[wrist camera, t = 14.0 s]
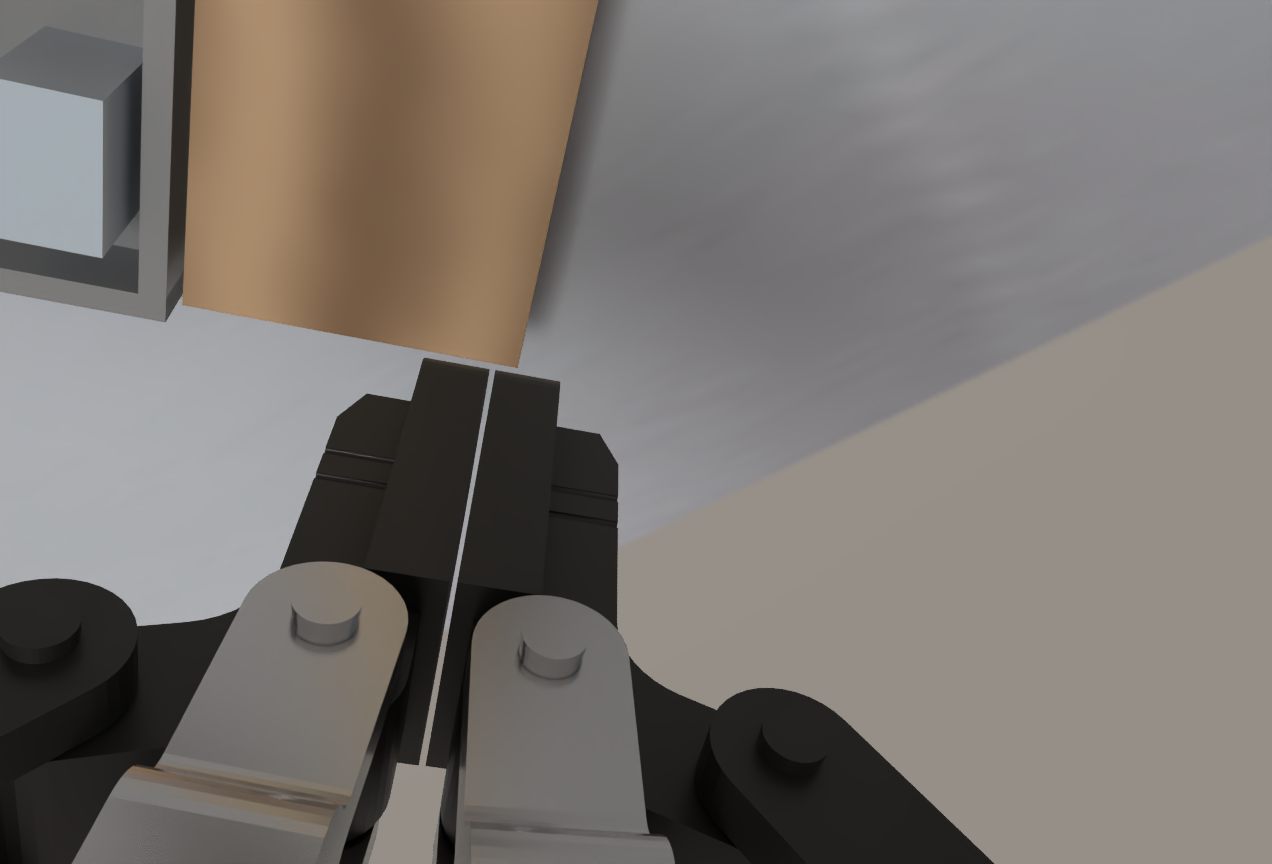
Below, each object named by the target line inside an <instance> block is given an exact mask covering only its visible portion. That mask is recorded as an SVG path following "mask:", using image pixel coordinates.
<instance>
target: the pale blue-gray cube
mask: <svg viewBox="0 0 1272 864" xmlns="http://www.w3.org/2000/svg"><path fill="white" fill-rule="evenodd" d="M142 65H143V48H141V47H137V46H132V45H128V44H123V43H119V42H114V41H110V40H106V39H101V38H97V37H92V36H88V35H83V34H79V33H74V32H70V31H65V30H61V29H56V28H52V27H47V26H44V27H43V28H41V29H40V30H39V31H37V32H36V33H34V34H33V35H32V36H30V37H29V38H28V39H26V40H25V41H23V42H22V43H21V44H19V45H18V46H16V47H15V48H14V49H12V50H11V51H10V52H8V53H7V54H5V55H4V56H3V57H1V58H0V238H1V239H6V240H11V241H16V242H21V243H26V244H31V245H37V246H42V247H47V248H52V249H57V250H62V251H67V252H72V253H78V254H83V255H88V256H93V257H98V258H103V257H104V256H105V254H106V253H107V252H108V250H109V249H110V248H111V246H112V245H113V244H114V243H115V241H116V240H117V239H118V237H119V236H120V235H121V233H122V232H123V231H124V230H125V228H126V227H127V226H128V224H129V223H130V222H131V221H132V219H133V218H134V217H135V215H136V214H137V213H138V211H139V210H140V171H141V118H142Z"/></svg>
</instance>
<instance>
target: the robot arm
mask: <svg viewBox="0 0 1272 864" xmlns="http://www.w3.org/2000/svg"><path fill="white" fill-rule="evenodd" d="M488 376H489V369H485V368H479V367H474V366H468V365H462V364H457V363H451V362H446V361H440V360H434V359H429V358H424V359H423V361H422V365H421V368H420V372H419V375H418V379H417V382H416V386H415V389H414V393H413V396H412V400H411V401H406V400H400V399H394V398H388V397H383V396H377V395H371V394H366V395H365V396H363V397H362V398H361V399H359V400H358V401H357V402H356V403H354V404H353V405H352V406H350V407H349V408H348V409H347V410H345V411H344V412H343V413H341V414H340V415H339V416H338V417H337V419H336V421H335V424H334V427H333V429H332V432H331V435H330V437H329V440H328V443H327V445H326V449H325V453H323V456H322V459H321V461H320V464H319V467H318V469H317V472H316V478H314V480H313V483H312V485H311V488H310V491H309V493H308V496H307V499H306V501H305V504H304V507H303V509H302V512H301V515H300V517H299V520H298V523H297V525H296V528H295V531H294V533H293V536H292V539H291V541H290V544H289V547H288V549H287V552H286V555H285V557H284V560H283V563H282V565H281V568H280V570H278V571H276V572H274V573H272V574H270V575H268V576H266V577H265V578H264V579H262V580H261V581H259V582H258V583H257V584H256V585H255V586H254V587H253V588H252V589H251V590H250V591H249V593H248V594H247V596H246V597H245V599H244V601H243V603H242V605H241V607H240V608H238V609H236V610H234V611H232V612H229V613H226V614H223V615H221V616H217V617H213V618H209V619H205V620H199V621H191V622H182V623H171V624H159V625H147V626H137V624H136V619H135V617H134V615H133V613H132V611H131V609H130V608H129V607H128V606H127V604H126V603H125V602H124V601H123V600H122V599H121V598H119V597H118V596H116V595H115V594H114V593H112V592H110V591H108V590H106V589H104V588H102V587H100V586H97V585H94V584H91V583H88V582H83V581H77V580H72V579H58V578H55V579H37V580H30V581H23V582H19V583H15V584H11V585H7V586H5V587H2V588H0V864H368V863H369V859H370V856H371V853H372V849H373V846H374V843H375V840H376V835H377V830H378V824H379V818H380V817H381V816H382V814H383V812H384V811H385V809H386V807H387V804H388V801H389V798H390V794H391V789H392V784H393V779H394V774H395V769H396V764H397V762H398V763H405V764H413V765H419V760H420V754H421V749H422V744H423V739H424V733H425V728H426V722H427V717H428V711H429V706H430V701H431V695H432V690H433V684H434V679H435V674H436V668H437V662H438V657H439V652H440V647H441V641H442V636H443V630H444V625H445V620H446V614H447V609H448V603H449V598H450V593H451V587H452V582H453V576H454V571H455V565H456V560H457V555H458V549H459V544H460V538H461V533H462V527H463V522H464V516H465V511H466V505H467V499H468V493H469V488H470V482H471V476H472V470H473V464H474V458H475V453H476V447H477V441H478V435H479V429H480V423H481V417H482V412H483V406H484V400H485V394H486V388H487V382H488ZM559 392H560V382H559V381H553V380H547V379H542V378H536V377H531V376H525V375H519V374H514V373H508V372H503V371H497V370H495V376H494V382H493V387H492V393H491V398H490V404H489V409H488V415H487V421H486V426H485V432H484V437H483V443H482V448H481V454H480V460H479V465H478V471H477V476H476V482H475V487H474V493H473V499H472V504H471V510H470V515H469V521H468V527H467V532H466V538H465V543H464V549H463V554H462V560H461V566H460V571H459V577H458V582H457V588H456V594H455V600H454V605H453V611H452V617H451V623H450V628H449V634H448V641H447V646H446V652H445V657H444V664H443V669H442V675H441V681H440V686H439V692H438V698H437V703H436V709H435V715H434V722H433V727H432V732H431V739H430V744H429V750H428V756H427V761H426V766H431V767H438V768H446V775H445V781H444V788H443V794H442V801H441V807H440V813H439V818H438V823H437V828H436V833H435V839H434V845H433V858H432V864H994V863H993V862H992V861H991V860H990V859H989V858H988V857H987V856H986V855H985V854H984V853H983V852H982V851H981V850H979V849H978V848H977V847H976V846H975V845H974V844H973V843H972V842H971V841H970V840H969V839H968V838H967V837H966V836H965V835H964V834H963V833H962V832H961V831H960V830H959V829H958V828H956V827H955V826H954V825H953V824H952V823H951V822H950V821H949V820H948V819H947V818H946V817H945V816H944V815H943V814H942V813H941V812H940V811H939V810H937V808H936V807H935V806H934V805H933V804H931V803H930V802H929V801H928V800H927V799H926V798H925V797H924V796H923V795H922V794H921V793H920V792H919V791H918V790H917V789H916V788H915V787H914V786H913V785H912V784H911V783H909V782H908V781H907V780H906V779H905V778H904V777H903V776H902V775H901V774H900V773H899V772H898V771H897V770H896V769H895V768H894V767H893V766H891V764H890V763H889V762H888V761H886V760H885V759H884V758H883V757H882V756H881V755H880V754H879V753H878V752H877V751H876V750H875V749H874V748H873V747H872V746H871V745H870V744H869V743H868V742H867V741H865V739H864V738H862V737H861V736H860V735H859V734H858V733H857V732H856V731H855V730H854V729H853V728H852V727H851V726H850V725H849V724H848V723H847V722H846V721H845V720H843V719H842V718H841V717H840V716H839V715H838V714H837V713H835V712H834V711H832V710H831V709H830V708H828V707H827V706H825V705H824V704H822V703H820V702H818V701H816V700H814V699H812V698H810V697H807V696H805V695H802V694H799V693H796V692H792V691H788V690H783V689H775V688H757V689H751V690H746V691H743V692H741V693H738V694H736V695H734V696H732V697H730V698H729V699H727V700H726V701H725V702H724V703H723V704H722V705H721V706H720V707H719V708H718V710H715V709H713V708H710V707H708V706H705V705H703V704H700V703H698V702H696V701H693V700H691V699H688V698H686V697H684V696H681V695H679V694H677V693H675V692H673V691H671V690H669V689H667V688H665V687H664V686H662V685H660V684H659V683H657V682H655V681H654V680H653V679H651V678H650V677H649V676H648V675H647V674H645V673H644V672H643V671H642V670H641V669H640V668H639V667H638V666H637V665H636V664H635V663H634V662H633V660H632V659H631V658H630V656H629V654H628V649H627V646H626V644H625V642H624V639H623V637H622V636H621V635H620V633H619V632H618V627H617V550H618V528H617V523H618V502H617V498H618V464H617V462H616V460H615V459H614V457H613V455H612V454H611V452H610V450H609V449H608V447H607V445H606V444H605V442H604V440H603V439H602V437H601V435H600V434H596V433H590V432H585V431H579V430H573V429H567V428H562V427H556V426H557V415H558V403H559Z"/></svg>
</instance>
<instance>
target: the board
mask: <svg viewBox="0 0 1272 864" xmlns="http://www.w3.org/2000/svg"><path fill="white" fill-rule="evenodd" d="M597 4H598V0H195V16H194V40H193V64H192V88H191V112H190V136H189V160H188V184H187V208H186V233H185V257H184V281H183V305H186V306H191V307H196V308H202V309H207V310H212V311H218V312H223V313H228V314H234V315H239V316H244V317H249V318H255V319H260V320H265V321H271V322H276V323H281V324H287V325H292V326H297V327H303V328H308V329H313V330H319V331H324V332H329V333H335V334H340V335H345V336H351V337H356V338H361V339H367V340H372V341H377V342H382V343H388V344H393V345H398V346H404V347H409V348H414V349H420V350H425V351H430V352H436V353H441V354H446V355H452V356H457V357H462V358H468V359H473V360H478V361H484V362H489V363H494V364H500V365H505V366H510V367H516V368H518V364H519V359H520V355H521V350H522V346H523V341H524V336H525V332H526V327H527V323H528V318H529V314H530V309H531V305H532V300H533V295H534V291H535V286H536V282H537V277H538V273H539V268H540V264H541V259H542V255H543V250H544V245H545V241H546V236H547V232H548V227H549V223H550V218H551V214H552V209H553V205H554V200H555V195H556V191H557V186H558V182H559V177H560V173H561V168H562V164H563V159H564V154H565V150H566V145H567V141H568V136H569V132H570V127H571V123H572V118H573V114H574V109H575V104H576V100H577V95H578V91H579V86H580V82H581V77H582V73H583V68H584V64H585V59H586V54H587V50H588V45H589V41H590V36H591V32H592V27H593V23H594V18H595V14H596V9H597Z"/></svg>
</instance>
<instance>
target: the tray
mask: <svg viewBox="0 0 1272 864" xmlns="http://www.w3.org/2000/svg"><path fill="white" fill-rule="evenodd" d="M194 16H195V0H0V58H1V57H3V56H4V55H5V54H7V53H8V52H10V51H11V50H12V49H14V48H15V47H16V46H18V45H19V44H21V43H22V42H23V41H25V40H26V39H28V38H29V37H30V36H32V35H33V34H34V33H36V32H37V31H39V30H40V29H41V28H43V27H44V26H47V27H52V28H56V29H61V30H65V31H70V32H74V33H79V34H83V35H88V36H92V37H97V38H101V39H106V40H110V41H114V42H119V43H123V44H128V45H132V46H137V47H141V48H143V65H142V118H141V171H140V210H139V211H138V213H137V214H136V215H135V217H134V218H133V219H132V221H131V222H130V223H129V224H128V226H127V227H126V228H125V230H124V231H123V232H122V233H121V235H120V236H119V237H118V239H117V240H116V241H115V243H114V244H113V245H112V246H111V248H110V249H109V250H108V252H107V253H106V254H105V256H104V257H103V258H98V257H93V256H88V255H83V254H78V253H72V252H67V251H62V250H57V249H52V248H47V247H42V246H37V245H31V244H26V243H21V242H16V241H11V240H6V239H1V238H0V292H5V293H10V294H16V295H21V296H26V297H32V298H37V299H43V300H48V301H53V302H59V303H64V304H70V305H75V306H80V307H86V308H91V309H97V310H102V311H107V312H113V313H118V314H124V315H129V316H134V317H140V318H145V319H151V320H156V321H161V322H166V320H167V319H168V317H169V315H170V314H171V312H172V310H173V309H174V307H175V305H176V304H177V302H178V300H179V299H180V297H181V296H182V294H183V281H184V257H185V233H186V208H187V184H188V160H189V136H190V112H191V88H192V64H193V40H194Z"/></svg>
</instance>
